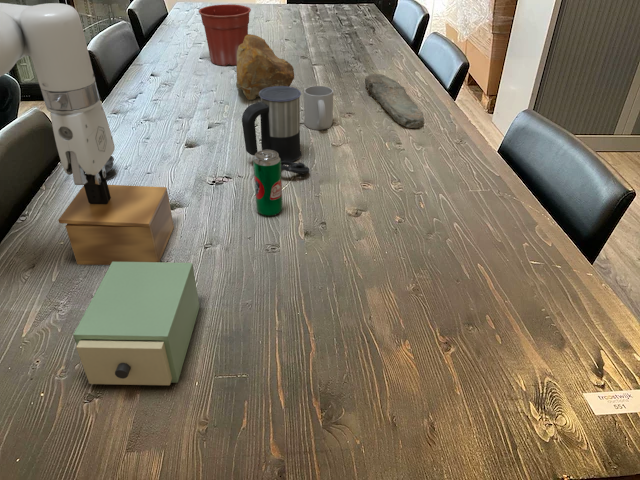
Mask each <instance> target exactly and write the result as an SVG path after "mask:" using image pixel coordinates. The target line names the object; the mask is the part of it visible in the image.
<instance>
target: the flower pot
mask: <svg viewBox="0 0 640 480" xmlns="http://www.w3.org/2000/svg"><path fill="white" fill-rule="evenodd" d="M251 12H252V8H251V7H249V6H247V5H242V4H232V3H231V4H230V3H229V4H214V5H207V6H204V7H201V8H199V9H198V14H199V15H200V18H201V23H202V25H203V28H204V33H205V38H206V42H207V48H208V54H209V57H210V62H211V64H214V65H217V66H222V67H223V66H224V67H225V66H228V65H230V66H237V50H238V46H239V45H240V44H242V43H243V41H244V38H245V36H246V35H247V34H249V24H250V13H251Z"/></svg>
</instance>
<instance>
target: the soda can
mask: <svg viewBox="0 0 640 480" xmlns="http://www.w3.org/2000/svg"><path fill="white" fill-rule="evenodd" d="M257 151H258V152H257V153H256V154H255V155H254V158H253V160H252V163H253V165H252V167H253V177H254V179H253V180H254V189H255V190H254V193H255V206H256V208H255V209H256V211H257V212H258V213H259V214H260V215H262V216H263V217H273V216H277V215H279V214H281V212H282V210H283V207H284V206H283V180H282V169H281V159H280V157H279V154H278V153H277V152H276V151H274V150H262V149H261V150H257Z"/></svg>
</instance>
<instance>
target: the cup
mask: <svg viewBox="0 0 640 480" xmlns="http://www.w3.org/2000/svg"><path fill="white" fill-rule="evenodd" d="M303 102H304V103H303V105H304V106H303V110H304V111H303V112H304V115H303V118H304V119H303V120H304V126H305V127H306V128H307V129H310V130H313V131H324V130H328V129H329V128H331V127H332V125H333V119H334V115H333V113H334V90H333V88H331V87H329V86H326V85H312V86H308V87H306V88H304V89H303Z"/></svg>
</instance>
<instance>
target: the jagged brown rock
mask: <svg viewBox="0 0 640 480" xmlns="http://www.w3.org/2000/svg"><path fill="white" fill-rule="evenodd" d="M235 71H236V76H235V77H236V82H235V87H236V88H237V90H239V91H240V90H241V91H242V92H243V96H244V97H245V98H246V99H247V100H249V101H253V100H256V98H257V97H259V98H261V97H260V96H259V92H260V91H261V90H262V89H265V88H268V87H273V86H288V87H291V85H292V83H293V81H294V80H295V72H294V71H295V70H294V67H293V65H292V64H291V63H290V62H288V61H287V60H286V59H284V58H279V57H278V56H277V55H276V54H275V52H274V51H273V49H272V48H271V46H270V45H269V44H268V43H267V41H266V40H265V39H264V38H263V37H261V36H258V35H255V34H249V33H248V34H247V35H246V36H245V38H244V41H243V43H242V44H240V45H239V46H238V50H237V65H236V70H235Z"/></svg>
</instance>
